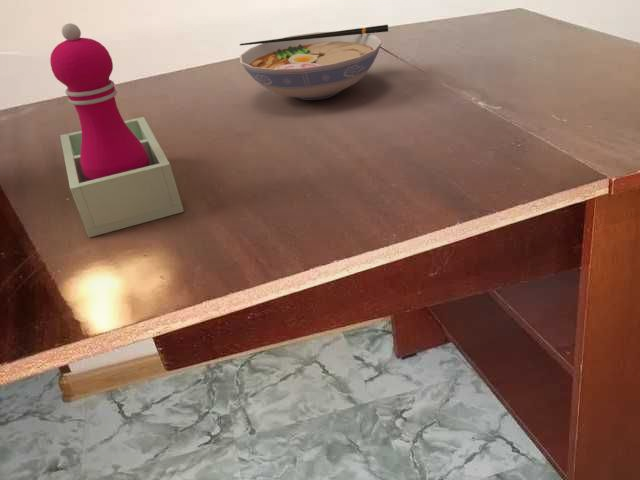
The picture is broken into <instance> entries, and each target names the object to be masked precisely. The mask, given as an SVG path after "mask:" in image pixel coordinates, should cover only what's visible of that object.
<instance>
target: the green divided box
mask: <svg viewBox="0 0 640 480" xmlns="http://www.w3.org/2000/svg"><path fill="white" fill-rule="evenodd" d="M124 122H125V124H126V125H127V127H128V128H129V129H130V130H131V132H132V133H133V134H134V135H135V136H136V137H137V139H138V140H139V141H140V142H141V144H142V145H143V147H144V148H145V150H146V153H147V155H148V158H149V166H147V167H143V168H139V169H135V170H131V171H126V172H122V173H118V174H114V175H110V176H106V177H102V178H98V179H94V180H90V181H88V180H87V179H86V178H85V176H84V174H83V170H82V167H81V158H80V153H81V143H82V131H81V130H78V131H73V132H69V133H64V134H60V137H59V138H60V142H61V147H62V153H63V158H64V163H65V169H66V175H67V181H68V185H69V190H70V193H71V195H72V197H73V201H74V202H75V206H76V208H77V211H78V214H79V216H80V219H81V221H82V224H83V227H84V229H85V232H86V235H87V237H88V239H89V238H90V239H91V238H93V237H97V236H101V235H104V234H108V233H111V232H115V231H119V230H122V229H126V228H129V227H134V226H136V225H141V224H145V223H148V222H152V221H155V220H158V219H162V218H166V217H169V216H173V215H177V214H182V213H184V212H185V210H184V207H183V204H182V200H181V196H180V193H179V189H178V187H177V183H176V180H175V176H174V173H173V169H172V166H171V163H170V162H169V160H168V158H167V155H165V152H164V151H163V149H162V147H161V145H160V144H159V141H158V140H157V138H156V136H155V134H154V133H153V130H152V129H151V127H150V125H149V123H148V121H147V120H146V118H145V117H144V116H141V117H137V118H136V117H135V118H132V119H127V120H124Z"/></svg>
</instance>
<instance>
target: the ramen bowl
mask: <svg viewBox="0 0 640 480" xmlns="http://www.w3.org/2000/svg"><path fill="white" fill-rule="evenodd" d="M388 32H389V24H381V25H375V26H367V27H357V28H351V29H343V30H333V31H317V32H311V33H302V34H296V35H289V36H285V37H280V38H274V39H267V40H259V41H251V42H250V41H249V42H244V43H239V46H249V45H255V46H252V47H250V48H248V49H246V51H244V52H243V53H241V54H240V55H239V62H240V64H241V65H242V67H243V68H244V70H245V71H246V72H247V73H248V74H249V76H251V78H252V79H253V80H254V81H256V83H258V84H259V85H260V86H262V87H263V88H266V89H268V90H269V91H272V92H274V93H276V94H278V95H281V96H286V97H292V98H296V99H298V100H302V101H319V100H325V99H328V98H332V97H335V96H336V95H339V94H340V92H342V91H343V90H345V89H347V88H349V87H352V86H354V85H355V84H356V83H358V82H359V81H360V80H361V79H363V78H364V77H365V75H367V73H368V72H369V70H370V68H371V67H372V65H373V64H374V62H375V60H376V58H377V56H378V54H379V52H380V49H381V45H382V41H381V39H380V38H379V37H378V36H377V35H374V34H376V33H377V34H379V33H388Z"/></svg>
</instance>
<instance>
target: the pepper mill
mask: <svg viewBox="0 0 640 480" xmlns="http://www.w3.org/2000/svg"><path fill="white" fill-rule="evenodd" d="M61 34H62V37H63V38H64V39H65V40H64V41H61V42H60V43H58V44H57V45H56V46H55V47H54V48H53V50H52V51H51V54H50V59H49V60H50V61H49V63H50V67H51V68H50V69H51V71H52V73H53V76H54V77H55V79H56V80H57V81H59V82H60V83H61V84H62V85H64V86H66V87H67V88H66V89H65V91H64V92H65V95H66V96H67V97H68V99H67V101H68V103H69V104H71V105H73V106H74V108H75V111H76V112H77V115H78V119H79V123H80V129H81V130H80V131H82V143H81V153H80V158H81V167H82V170H83V174H84V176H85V178H86V179H87V180H88V181H90V180H94V179H98V178H102V177H106V176H110V175H114V174H118V173H122V172H126V171H131V170H135V169H139V168H143V167H147V166H149V158H148V155H147V153H146V150H145V148H144V147H143V145H142V144H141V142H140V141H139V140H138V139H137V137H136V136H135V135H134V134H133V133H132V132H131V130H130V129H129V128H128V127H127V125H126V124H125V122H124V121H125V120H124V119H123V117H122V115H121V113H120V111H119V108H118V105H117V102H116V98H115V97H116V96H117V94H118V91H117V89H116V88H115V82H114V81H113V80H111V79H110V77H111V75H112V72H113V69H114V64H113V59H112V56H111V55H110V52H109V51H108V49H107V47H106V46H104V45H103V44H102V43H101V42H99V41H97V40H95V39H92V38H88V37H81V35H82V32H81V29H80V28H79V26H78V25H76V24H75V23H66V24H64V25H63V26H62V28H61Z"/></svg>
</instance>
